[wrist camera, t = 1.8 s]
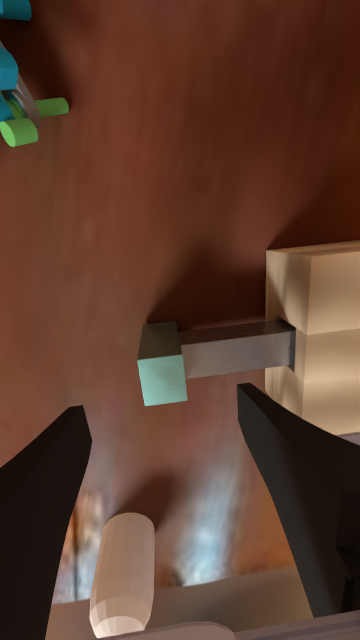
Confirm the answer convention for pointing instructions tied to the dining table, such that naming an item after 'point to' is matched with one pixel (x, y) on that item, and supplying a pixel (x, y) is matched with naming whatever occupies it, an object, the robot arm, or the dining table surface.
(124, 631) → the capsule
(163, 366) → the bar
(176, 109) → the dining table surface
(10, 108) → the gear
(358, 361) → the block
